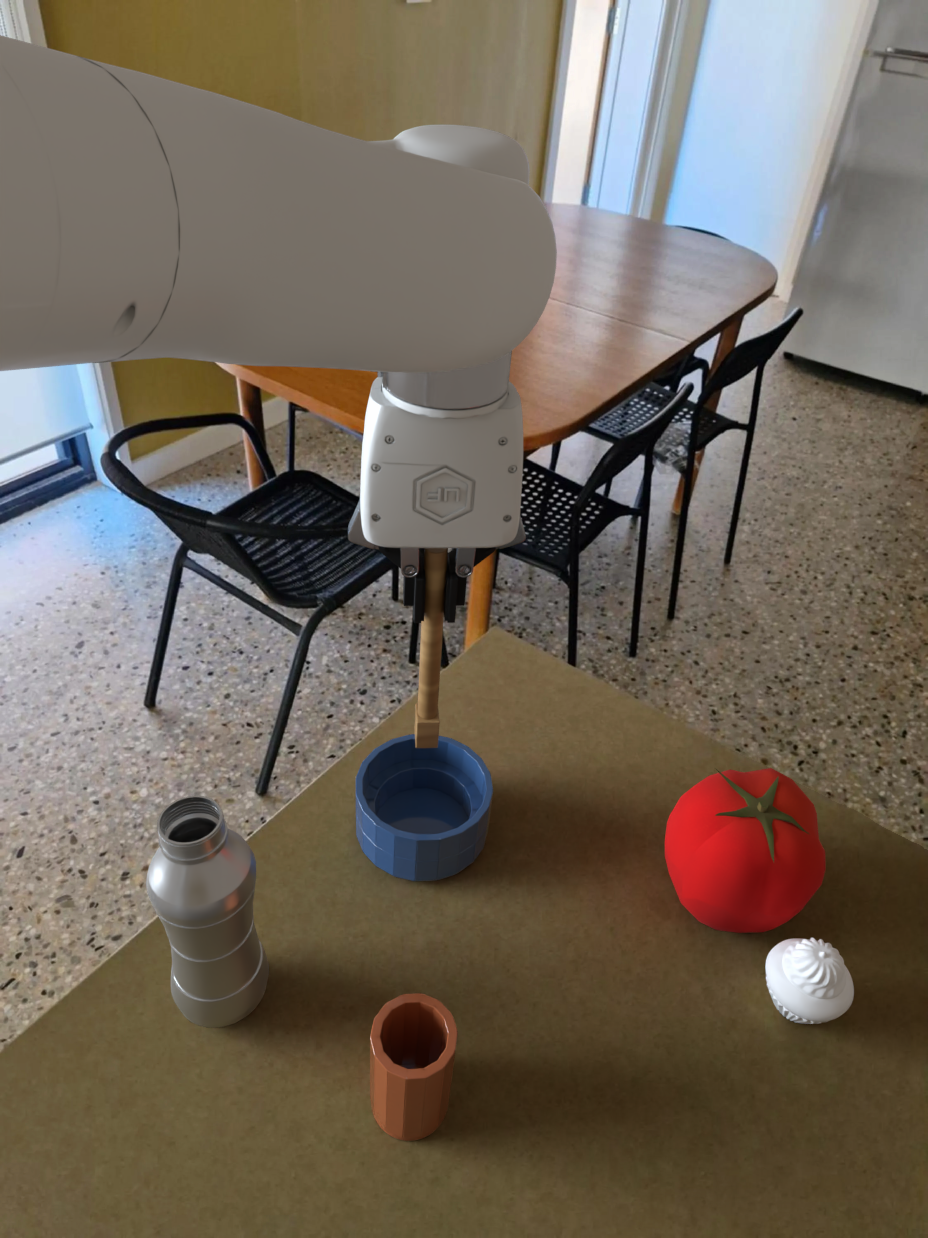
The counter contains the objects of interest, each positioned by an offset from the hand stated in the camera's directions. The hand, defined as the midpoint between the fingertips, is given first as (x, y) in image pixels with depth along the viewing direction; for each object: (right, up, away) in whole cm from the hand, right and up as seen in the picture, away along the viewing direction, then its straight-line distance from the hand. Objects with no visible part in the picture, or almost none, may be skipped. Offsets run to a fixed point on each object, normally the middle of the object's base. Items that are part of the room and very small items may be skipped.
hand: (433, 609), depth 64 cm
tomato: (+24, -23, +10) cm, 35 cm away
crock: (-1, -33, -4) cm, 33 cm away
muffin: (+27, -30, +3) cm, 40 cm away
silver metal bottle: (-15, -28, 0) cm, 32 cm away
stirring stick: (-1, -10, +9) cm, 14 cm away
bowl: (-1, -19, +13) cm, 23 cm away
